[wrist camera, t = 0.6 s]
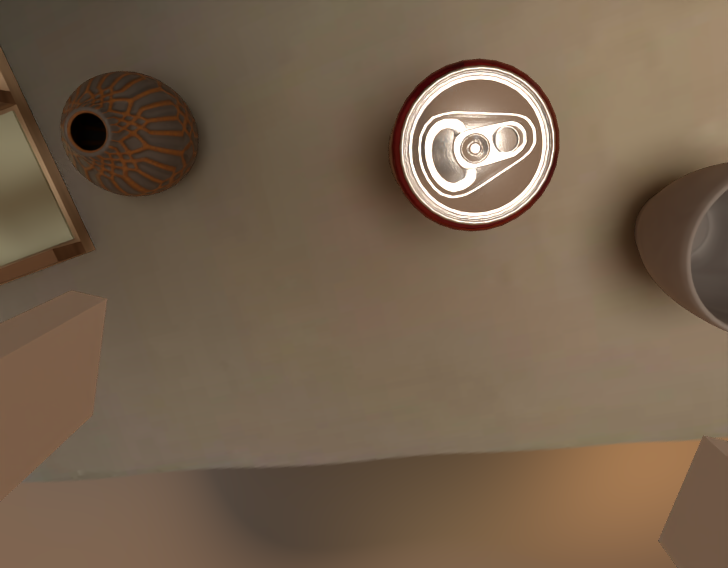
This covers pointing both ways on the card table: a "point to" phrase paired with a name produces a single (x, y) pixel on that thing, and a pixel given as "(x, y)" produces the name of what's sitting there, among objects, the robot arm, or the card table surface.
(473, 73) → the soda can
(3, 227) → the wooden divided tray
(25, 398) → the robot arm
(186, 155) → the vase
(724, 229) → the mug
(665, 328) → the card table surface
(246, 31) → the card table surface
